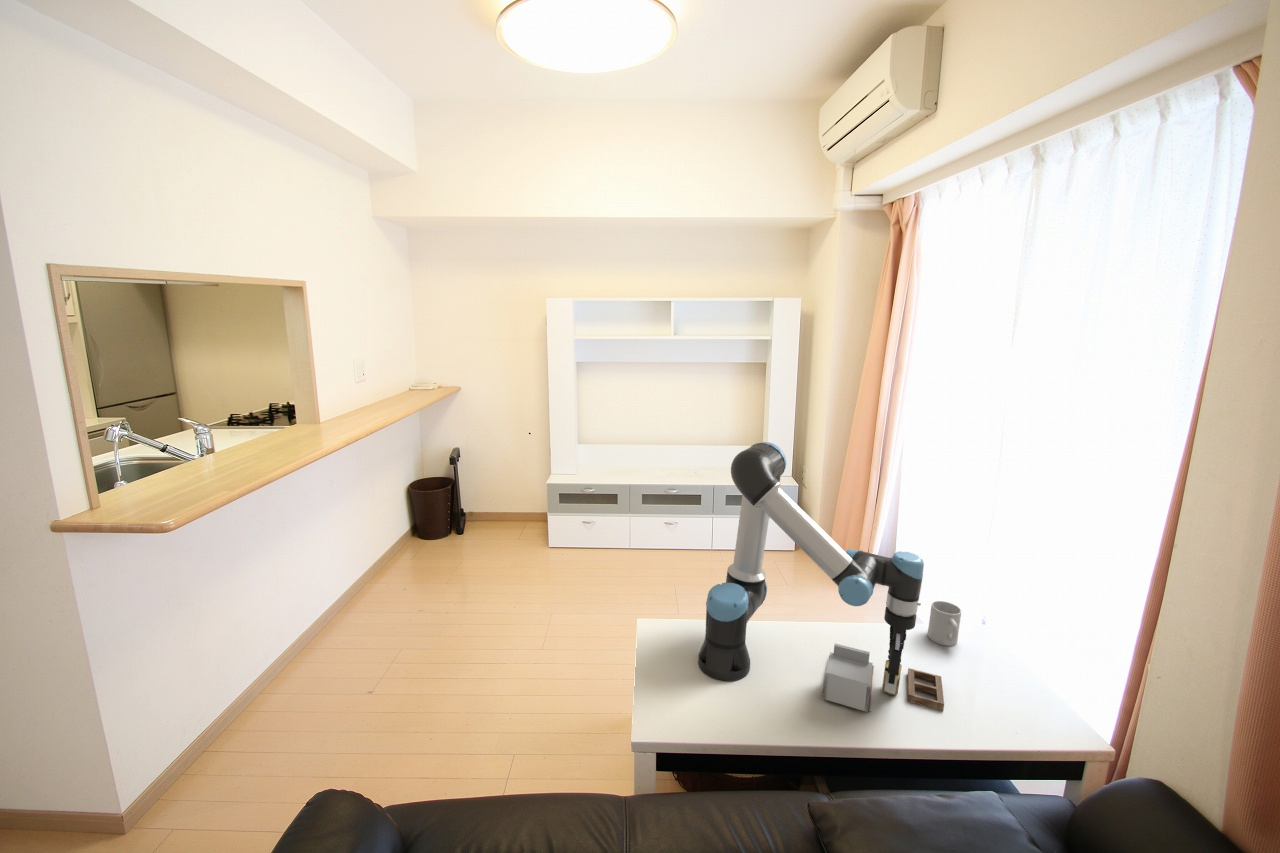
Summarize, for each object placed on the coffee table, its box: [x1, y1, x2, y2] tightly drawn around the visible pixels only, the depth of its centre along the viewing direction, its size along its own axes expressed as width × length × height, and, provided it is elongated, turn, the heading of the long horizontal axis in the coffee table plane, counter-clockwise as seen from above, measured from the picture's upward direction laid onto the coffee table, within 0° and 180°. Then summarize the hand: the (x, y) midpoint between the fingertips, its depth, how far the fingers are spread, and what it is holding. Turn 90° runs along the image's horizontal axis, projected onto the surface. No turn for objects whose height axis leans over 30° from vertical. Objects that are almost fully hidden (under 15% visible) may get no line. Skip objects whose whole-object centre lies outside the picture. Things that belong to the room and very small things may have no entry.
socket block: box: [907, 667, 945, 712], centre depth 151 cm, size 8×13×2 cm, turn 155°
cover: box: [822, 643, 874, 713], centre depth 147 cm, size 11×10×11 cm
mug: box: [927, 600, 962, 647], centre depth 175 cm, size 12×8×11 cm
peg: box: [881, 659, 902, 696], centre depth 150 cm, size 4×4×8 cm
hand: (889, 687), depth 151 cm, fingers closed on peg, 4 cm apart
